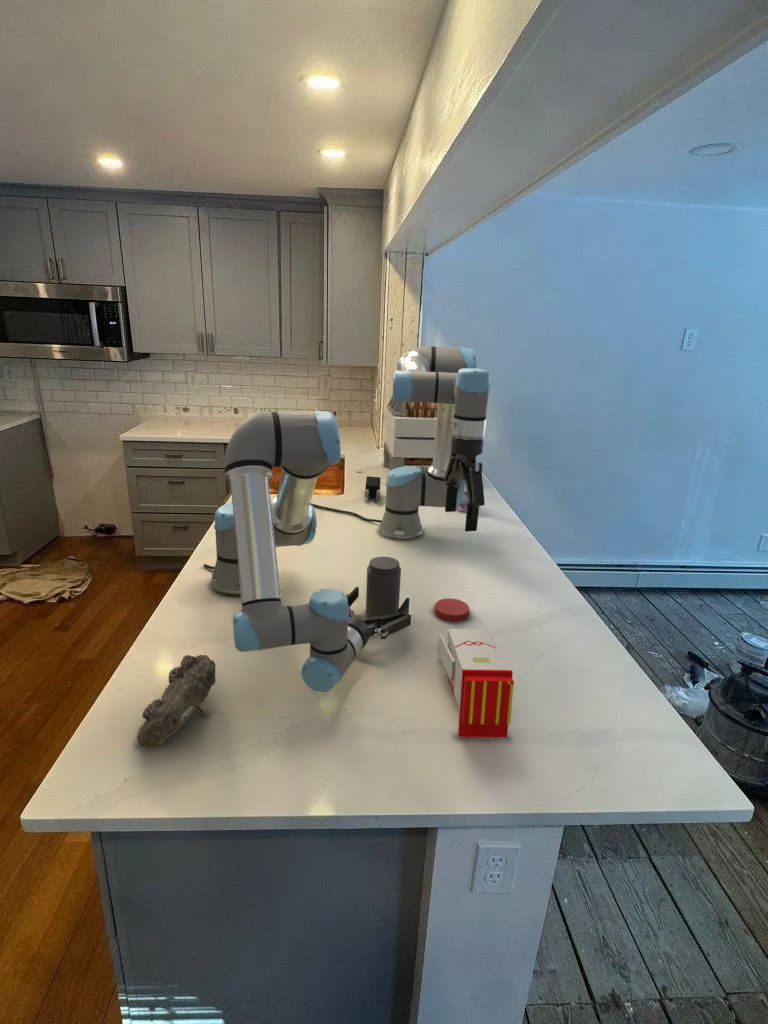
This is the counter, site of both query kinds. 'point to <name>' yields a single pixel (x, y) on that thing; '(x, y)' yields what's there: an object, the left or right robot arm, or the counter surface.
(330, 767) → the counter surface
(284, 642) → the left robot arm
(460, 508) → the figurine
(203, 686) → the fossil
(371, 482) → the figurine character
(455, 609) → the lid
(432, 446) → the white storage crate
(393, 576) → the jar
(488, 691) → the toy
